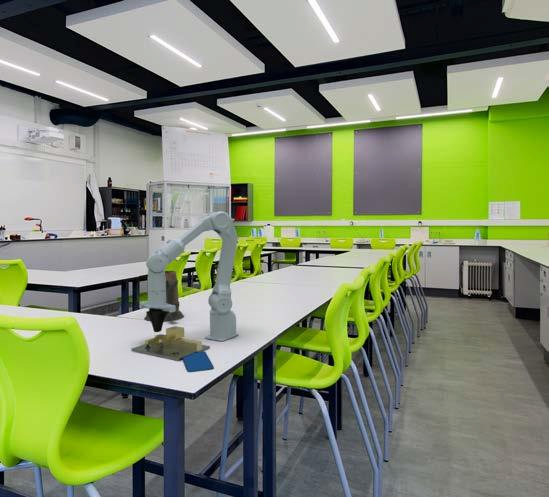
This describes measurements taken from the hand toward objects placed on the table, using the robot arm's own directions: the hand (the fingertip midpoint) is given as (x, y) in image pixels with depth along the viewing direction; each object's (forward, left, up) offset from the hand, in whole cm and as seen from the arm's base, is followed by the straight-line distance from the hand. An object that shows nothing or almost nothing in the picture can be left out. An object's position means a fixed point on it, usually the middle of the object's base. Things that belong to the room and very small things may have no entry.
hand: (157, 331), depth 132 cm
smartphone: (+7, +23, -5) cm, 24 cm away
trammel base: (+2, +8, -4) cm, 9 cm away
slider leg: (+2, +8, -3) cm, 9 cm away
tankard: (-29, -25, -5) cm, 39 cm away
